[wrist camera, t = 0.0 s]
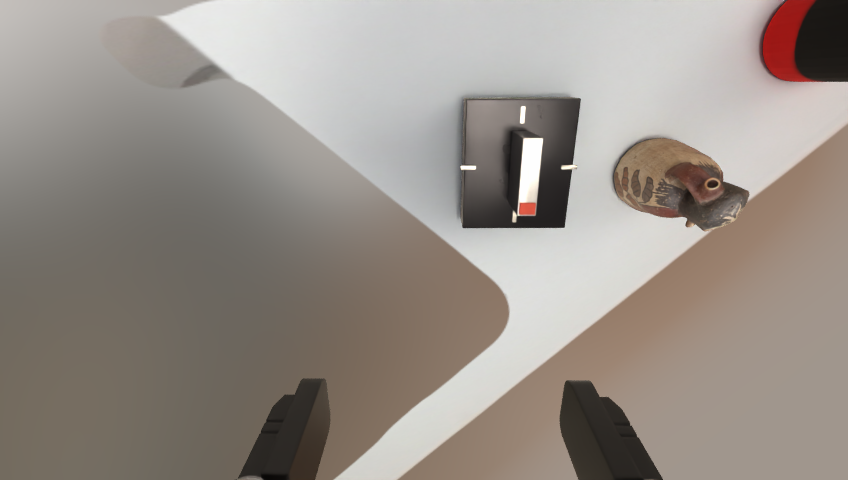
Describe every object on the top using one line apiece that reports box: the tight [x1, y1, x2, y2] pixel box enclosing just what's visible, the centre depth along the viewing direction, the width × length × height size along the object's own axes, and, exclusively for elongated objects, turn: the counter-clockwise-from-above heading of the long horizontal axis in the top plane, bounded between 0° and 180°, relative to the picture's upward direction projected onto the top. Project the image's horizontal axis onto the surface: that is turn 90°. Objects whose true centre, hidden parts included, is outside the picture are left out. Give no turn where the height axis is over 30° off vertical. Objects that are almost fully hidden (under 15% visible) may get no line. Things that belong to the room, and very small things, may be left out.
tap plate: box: [460, 97, 581, 228], centre depth 39 cm, size 12×11×3 cm
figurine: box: [614, 138, 749, 231], centre depth 35 cm, size 7×7×12 cm
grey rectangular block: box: [508, 131, 543, 216], centre depth 35 cm, size 6×2×5 cm, turn 0°
